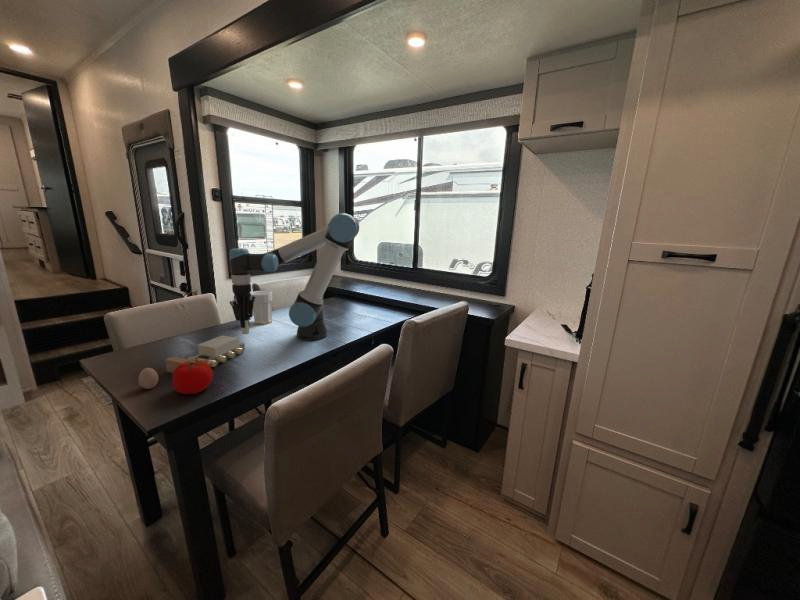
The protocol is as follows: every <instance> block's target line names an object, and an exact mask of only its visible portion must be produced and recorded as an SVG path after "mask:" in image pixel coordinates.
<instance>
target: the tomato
mask: <svg viewBox="0 0 800 600" xmlns="http://www.w3.org/2000/svg"><path fill="white" fill-rule="evenodd" d="M213 378H214V371H213V370H212V366H211V367H210V366H209V365H208V364H207V363H206V362H204V361H201V360H198V361H195V362H192V361H191V362H189V361H188V362H185V363H182V364H179V366H178V367H177V368H176V369H175V370H174V373H172V387H173V388H174V390H175V391H176V392H178V393H179V394H183V395H193V394H194V395H195V394H198V393H201V392H203V391H204V390H206V389H207V388H208V387H209V385H210V384H211V383H212V381H213Z"/></svg>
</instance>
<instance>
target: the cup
mask: <svg viewBox="0 0 800 600" xmlns="http://www.w3.org/2000/svg"><path fill="white" fill-rule="evenodd" d="M250 294H251V296H255V300H254V304H253V319H254V324H255V325H258V326H263V325H269V324H271V323H272V322H273V313H272V309H273V308H272V301H273V291H271V290H256V291H251V292H250Z"/></svg>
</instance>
